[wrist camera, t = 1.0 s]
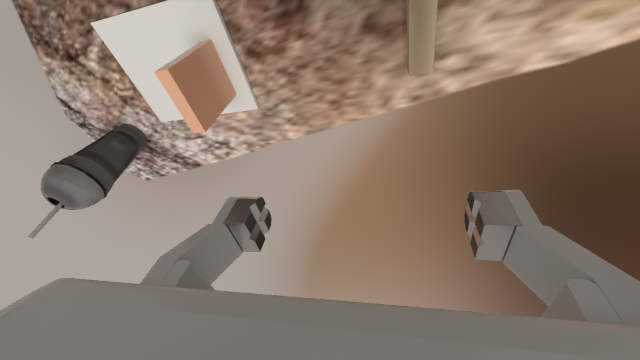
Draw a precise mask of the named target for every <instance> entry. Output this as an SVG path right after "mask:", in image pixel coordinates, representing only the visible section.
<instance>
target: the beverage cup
mask: <svg viewBox="0 0 640 360" xmlns="http://www.w3.org/2000/svg"><path fill="white" fill-rule="evenodd" d="M146 143H147V139H146V136H145V135H144V134H143V132H142V131H140V130H139V129H138V128H136V127H135V126H132V125H130V124H123V125H121V126H120V127H118V128H115V129H114V130H112V131H111V132H109V133H107V134H106V135H104V136H103V137H101V138H99V139H98V140H96V141H95V142H93V143H92V144H90V145H88V146H87V147H85V148H84V149H82V150H80V151H79V152H77V153H75V154H74V155H72V156H68V157H66V158H64V159H62V160H61V161H59V162H55V163H54V164H53V165H51V167H50V169H48V170H47V171H46V173H45V174H44V176H43V178H42V181H41V191H42V194H43V196H44V197H45V199H46V200H47V201H48V202H50V203H51V204H53V205H55V206H56V207H55V208H54V209H53V210H52V211H51V213H49V214H48V216H47V217H46V218H45V219H44V220H43V221H42V222H41V223H40V224H39V225H38V226H37V227H36V229H35V230H34V231H33V232H32V233H31V234H30V235H29V237H30V238H34V237H35V235H37V233H38V232H39V231H40V230H41V229H42V228H43V227H44V226H45V225H46V224H47V222H48V221H49V220H50V219H51V218H52V217H53V216H54V215H55V214H56V212H58V211H59V209H60V208H63V209H69V210H73V209H75V210H76V209H83V208H87V207H89V206H91V205H94V204H96V203H97V202H99V201H100V200H101V199H103V198H105V197H106V196H107V193H108V192H109V191H110V189H111V188H112V186H113V184H114V182H115V181H116V180H117V179H118V178H119V176H120V175H121V174H122V173H123V172H124V170H125V169H126V168H127V167H128V166H129V164H130V163H131V162H132V161H133V160H134V159H135V157H136V156H137V155H138V154H139V153H140V151H141V150H142V148H143V147H144V146H145V145H146Z"/></svg>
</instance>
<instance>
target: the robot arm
mask: <svg viewBox="0 0 640 360" xmlns="http://www.w3.org/2000/svg"><path fill="white" fill-rule="evenodd" d="M467 201H468V203H469V206H468V207H467V208H466V209H465V214H464V223H465V228H466V232H467V234H468V235H470V236H471V242H470V245H471V248H472V251H473V254H474V258H475V259H476V260H494V261H503V263H504V264H505V265H506V266H507V267H508V268H509V269H510V270H511V271H512V272H513V273H514V274H515V275H516V276H517V277H518V278H520V279H521V280H522V281H523V282H524V283H525V284H526V285H527V286H528V287H529V288H530V289H531V290H532V291H533V292H534V293H535V294H536V295H537V296H538V297H539V298H540V299H541V300H542V301H543V302H544V303H546V304H547V306H549V308H548V310H547V311H546V312H545V314H544V315H543V316H542V318H541V317H529V316H516V315H505V314H493V313H481V312H469V311H457V310H445V309H432V308H421V307H409V306H396V305H384V304H373V303H372V304H371V303H360V302H349V301H348V302H347V301H336V300H324V299H312V298H300V297H287V296H276V295H263V294H252V293H240V292H228V291H216V290H214V288H213V287H212V286H211V285H210V284H211V283H213V282H214V281H215V280H216V279H217V278H218V277H219V276H220V275H221V274H222V273H223V272H224V271H225V270H226V269H227V268H228V267H229V266H230V265H231V264H232V263H233V262H234V261H235V260H236V259H237V258H238V257H239V256H240V255H241V254H242V253H243V252H242V251H244V252H245V251H246V252H249V251H250V252H253V251H255V252H260V251H261V248H262V246H263V244H264V241H265V237H264V234H265V233H267V232H268V231H269V229H270V227H271V214H270V212H269V210H268V209H266V208H265V207H264V206H265V201H264V199H263V198H262V197H230V198H228V199H227V201H226V203H225V204H224V205H223V207H222V208H221V210H220V212H219V213H218V215H217V216H216V218H215V219H214V221H213V222H212V224H208V225H206V226H205V227H204V228H202V229H200V230H199V231H198V232H196V233H195V234H193V235H192V236H191V237H189V238H187V239H186V240H184V241H183V242H182V243H180V244H179V245H177V246H176V247H174V248H173V249H171V250H170V251H168V252H167V253H165V254H164V255H163V256H161V257H160V258H159V259H158V260H157V262H156V263H155V265H154V266H153V267H152V268H151V270H150V271H149V273H148V274H147V275H146V277H145V278H144V279H143V281H142V282H141V283H140V284H132V283H120V282H108V281H97V280H84V279H74V278H61V279H58V280H55V281H53V282H51V283H49V284H47V285H45V286H43V287H41V288H39V289H37V290H35V291H33V292H31V293H30V294H28V295H27V296H24V297H23V298H21V299H19V300H17V301H16V302H14V303H12V304H11V305H9V306H7V307H5V308H4V309H2V310H1V311H0V360H640V282H639V281H638V280H636V279H634V278H633V277H631V276H629V275H628V274H626V273H624V272H623V271H621V270H620V269H618V268H616V267H615V266H613V265H611V264H609V263H608V262H606V261H605V260H603V259H601V258H600V257H598V256H596V255H595V254H593V253H591V252H590V251H588V250H587V249H585V248H583V247H582V246H580V245H578V244H576V243H575V242H573V241H571V240H570V239H568V238H566V237H565V236H563V235H562V234H560V233H558V232H557V231H555V230H554V229H552V228H550V227H548V226H542V224H541V223H540V221H539V219H538V218H537V216H536V214H535V213H534V211H533V209H532V208H531V206H530V204H529V203H528V201H527V199H526V198H525V196H524V194H523V193H522V192H521V191H520V190H503V191H475V192H469V194H468V198H467Z"/></svg>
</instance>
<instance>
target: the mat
mask: <svg viewBox="0 0 640 360" xmlns="http://www.w3.org/2000/svg"><path fill="white" fill-rule="evenodd" d="M91 25H92V26H93V27H94V29H95V30H96V32H97V33H98V34H99V36H100V37H101V39H102V40H103V41H104V43H105V44H106V46H107V47H108V48H109V50H110V51H111V53H112V54H113V55H114V57H115V58H116V59H117V61H118V62H119V64H120V65H121V66H122V68H123V69H124V71H125V72H126V73H127V75H128V76H129V78H130V79H131V80H132V82H133V83H134V85H135V86H136V87H137V89H138V90H139V92H140V93H141V94H142V96H143V97H144V99H145V100H146V101H147V103H148V104H149V106H150V107H151V108H152V110H153V111H154V112H155V114H156V115H157V117H158V118H159V119H160V121H161V122H166V121H173V120H181V119H184V118H183V116H182V115H181V113H180V112H179V110H178V108H177V107H176V105H175V104H174V102H173V101H172V99H171V98H170V96H169V95H168V93H167V91H166V90H165V88H164V87H163V85H162V84H161V82H160V81H159V79H158V78H157V76H156V74H155V73H154V72H155V71H157V70H158V69H160V68H161V67H163V66H164V65H166V64H167V63H169V62H170V61H172V60H173V59H175V58H176V57H178V56H179V55H181V54H182V53H184V52H185V51H187V50H188V49H190V48H191V47H193V46H194V45H196V44H197V43H199V42H201V41H205V40H209V39H211V40H212V42H213V44H214V46H215V48H216V51H217V53H218V55H219V57H220V59H221V61H222V64H223V66H224V68H225V70H226V72H227V74H228V76H229V79H230V81H231V83H232V85H233V87H234V89H235V92H236V94H237V95H236V96H235V97H234V98H233V100H232V101H231V102H230V103H229V104H228V106H227V107H226V108H225V109H224V110H223V112H222V113H221V114H225V113H232V112H240V111H247V110H255V109H259V107H260V106H259V104H258V102H257V99H256V97H255V94H254V92H253V89H252V87H251V85H250V82H249V80H248V77H247V75H246V73H245V70H244V68H243V65H242V63H241V61H240V58H239V56H238V53H237V51H236V48H235V46H234V44H233V41H232V39H231V36H230V34H229V32H228V29H227V27H226V24H225V22H224V20H223V17H222V15H221V12H220V10H219V7H218V5H217V3H216V0H167V1H164V2H160V3H157V4H153V5H150V6H147V7H143V8H140V9H136V10H133V11H129V12H126V13H123V14H119V15H116V16H112V17H109V18H105V19H102V20H99V21H95V22H92V23H91Z"/></svg>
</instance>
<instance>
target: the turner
mask: <svg viewBox="0 0 640 360" xmlns="http://www.w3.org/2000/svg"><path fill="white" fill-rule="evenodd" d="M437 2H438V0H407V68H408V73H409V76H414V75H421V74H427V73H433V69H434V52H435V35H436V19H437Z"/></svg>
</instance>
